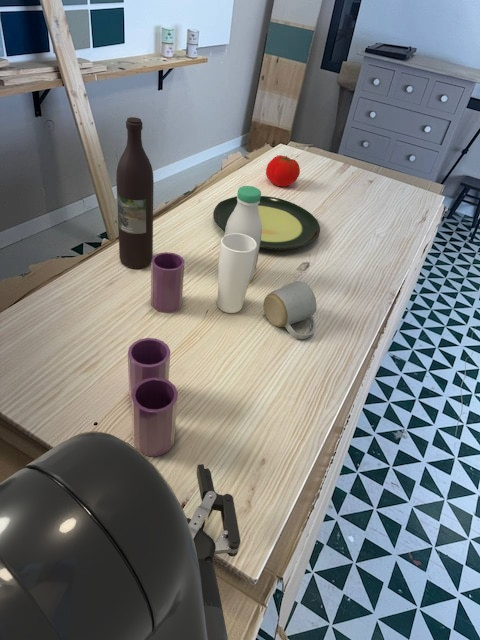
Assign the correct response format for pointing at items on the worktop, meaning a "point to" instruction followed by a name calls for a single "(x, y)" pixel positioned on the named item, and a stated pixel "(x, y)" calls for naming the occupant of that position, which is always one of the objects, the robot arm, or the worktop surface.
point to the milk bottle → (247, 217)
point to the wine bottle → (135, 200)
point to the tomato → (282, 171)
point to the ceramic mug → (291, 307)
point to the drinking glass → (234, 270)
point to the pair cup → (147, 361)
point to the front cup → (154, 416)
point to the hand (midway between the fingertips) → (164, 472)
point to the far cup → (167, 282)
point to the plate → (276, 222)
